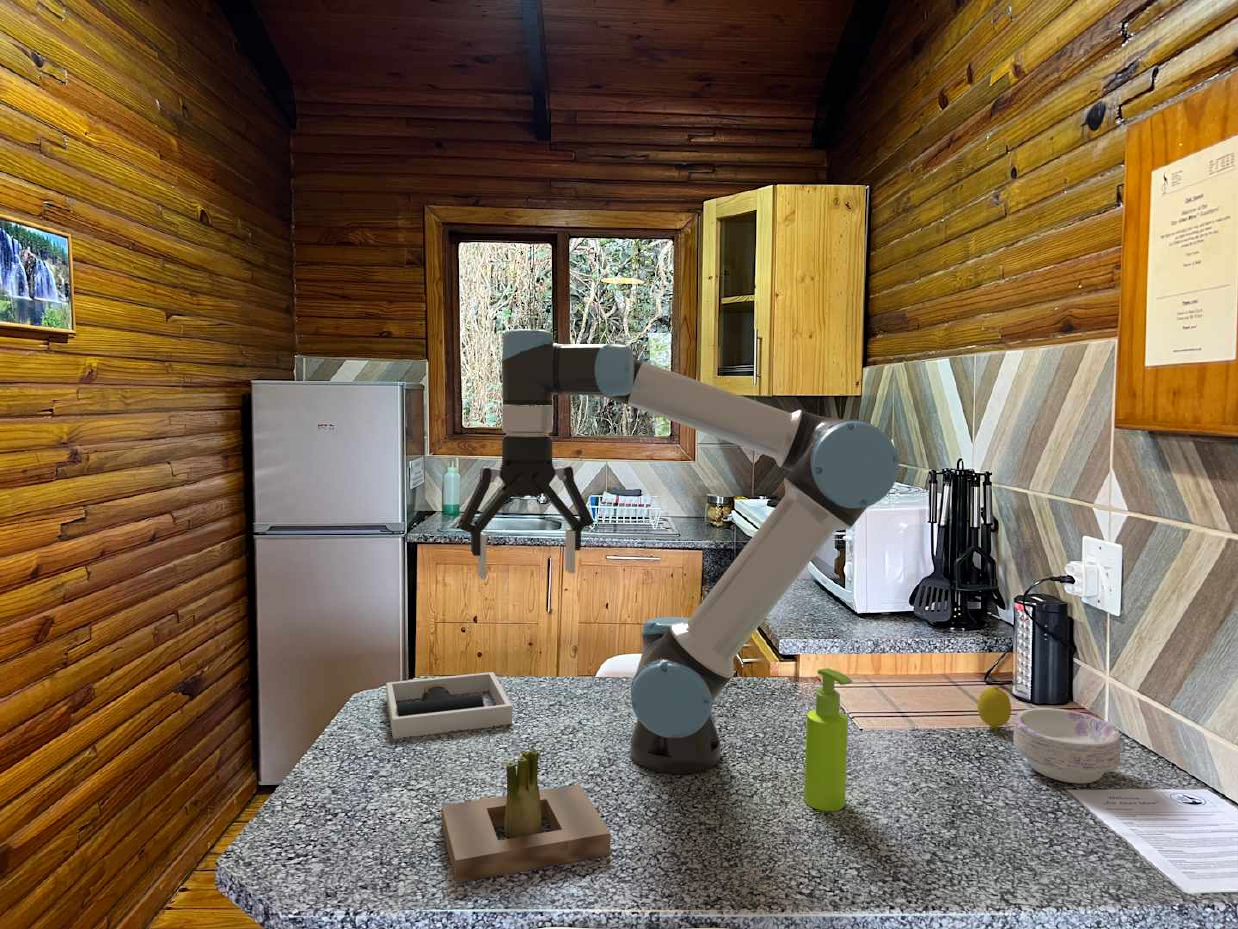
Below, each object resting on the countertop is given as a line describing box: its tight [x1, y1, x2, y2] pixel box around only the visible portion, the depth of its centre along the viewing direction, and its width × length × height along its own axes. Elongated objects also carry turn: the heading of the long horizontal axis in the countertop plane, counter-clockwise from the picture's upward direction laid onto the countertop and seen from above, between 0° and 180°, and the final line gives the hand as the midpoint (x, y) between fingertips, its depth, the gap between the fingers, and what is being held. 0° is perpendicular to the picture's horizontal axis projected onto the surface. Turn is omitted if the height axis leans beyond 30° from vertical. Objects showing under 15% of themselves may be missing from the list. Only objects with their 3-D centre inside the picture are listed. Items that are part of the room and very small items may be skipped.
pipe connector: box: [396, 684, 485, 717], centre depth 149 cm, size 12×5×15 cm
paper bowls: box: [1012, 707, 1122, 784], centre depth 130 cm, size 15×15×8 cm
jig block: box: [441, 783, 611, 884], centre depth 108 cm, size 20×14×3 cm
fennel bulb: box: [503, 749, 543, 839], centre depth 108 cm, size 6×5×12 cm
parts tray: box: [385, 671, 513, 740], centre depth 152 cm, size 21×19×4 cm
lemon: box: [977, 685, 1012, 730], centre depth 147 cm, size 6×6×8 cm
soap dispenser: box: [803, 667, 853, 812], centre depth 118 cm, size 6×7×20 cm
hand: (526, 574), depth 122 cm, fingers open, 13 cm apart
